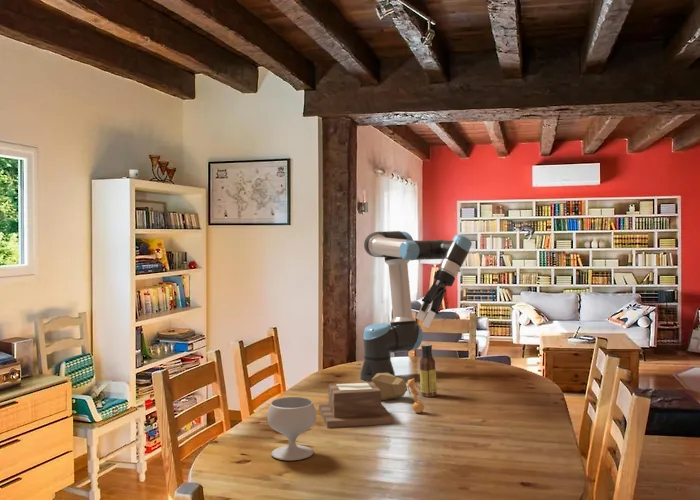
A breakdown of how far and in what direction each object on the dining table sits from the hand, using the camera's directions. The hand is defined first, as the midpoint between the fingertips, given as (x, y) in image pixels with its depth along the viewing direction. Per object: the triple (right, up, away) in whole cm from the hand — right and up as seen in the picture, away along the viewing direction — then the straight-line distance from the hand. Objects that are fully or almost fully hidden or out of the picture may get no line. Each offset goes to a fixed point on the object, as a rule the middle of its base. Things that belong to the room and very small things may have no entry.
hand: (422, 323), depth 232 cm
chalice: (-44, -31, -54) cm, 76 cm away
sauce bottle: (+3, -29, +9) cm, 31 cm away
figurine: (-4, -30, -14) cm, 33 cm away
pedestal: (-26, -30, -18) cm, 43 cm away
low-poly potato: (-12, -30, +4) cm, 32 cm away
